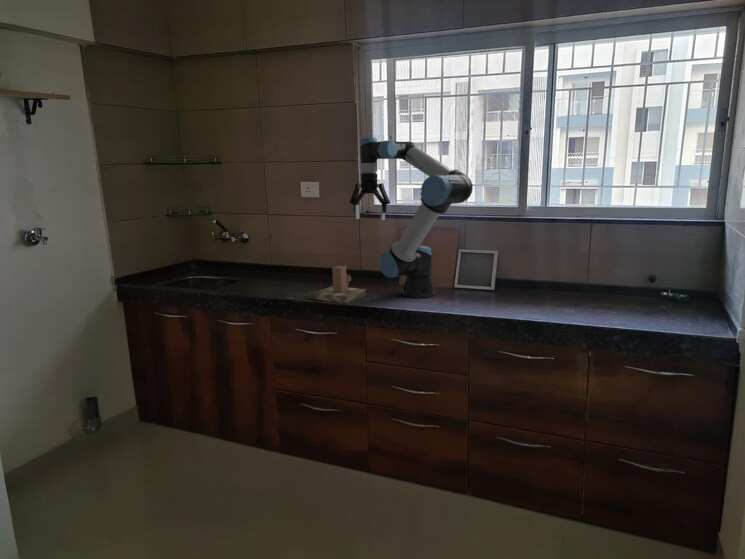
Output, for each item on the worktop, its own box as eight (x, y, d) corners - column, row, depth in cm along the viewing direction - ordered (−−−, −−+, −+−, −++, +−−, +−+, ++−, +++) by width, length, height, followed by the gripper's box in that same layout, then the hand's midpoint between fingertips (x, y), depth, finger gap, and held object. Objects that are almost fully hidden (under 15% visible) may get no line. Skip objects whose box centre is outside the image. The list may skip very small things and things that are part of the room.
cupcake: (352, 285, 264) (351, 262, 262) (350, 289, 256) (349, 265, 254) (335, 285, 265) (334, 262, 263) (332, 289, 257) (332, 265, 254)
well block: (365, 295, 243) (365, 289, 242) (347, 303, 229) (347, 296, 229) (333, 291, 252) (333, 285, 251) (313, 299, 238) (313, 292, 237)
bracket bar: (346, 296, 241) (346, 266, 238) (341, 298, 237) (340, 268, 235) (338, 295, 243) (337, 265, 241) (333, 297, 240) (332, 267, 237)
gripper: (397, 172, 235) (397, 219, 239) (350, 172, 247) (351, 217, 252) (389, 172, 229) (390, 221, 233) (341, 173, 241) (342, 219, 245)
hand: (369, 219), depth 242 cm, fingers open, 13 cm apart
